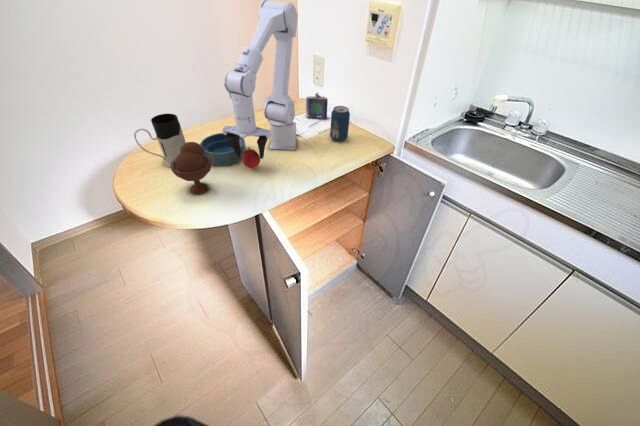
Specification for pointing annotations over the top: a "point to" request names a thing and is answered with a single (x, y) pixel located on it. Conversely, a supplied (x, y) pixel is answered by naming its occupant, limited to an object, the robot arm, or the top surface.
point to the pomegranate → (250, 158)
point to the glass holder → (166, 136)
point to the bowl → (221, 149)
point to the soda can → (339, 123)
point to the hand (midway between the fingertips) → (250, 156)
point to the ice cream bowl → (192, 166)
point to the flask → (316, 107)
